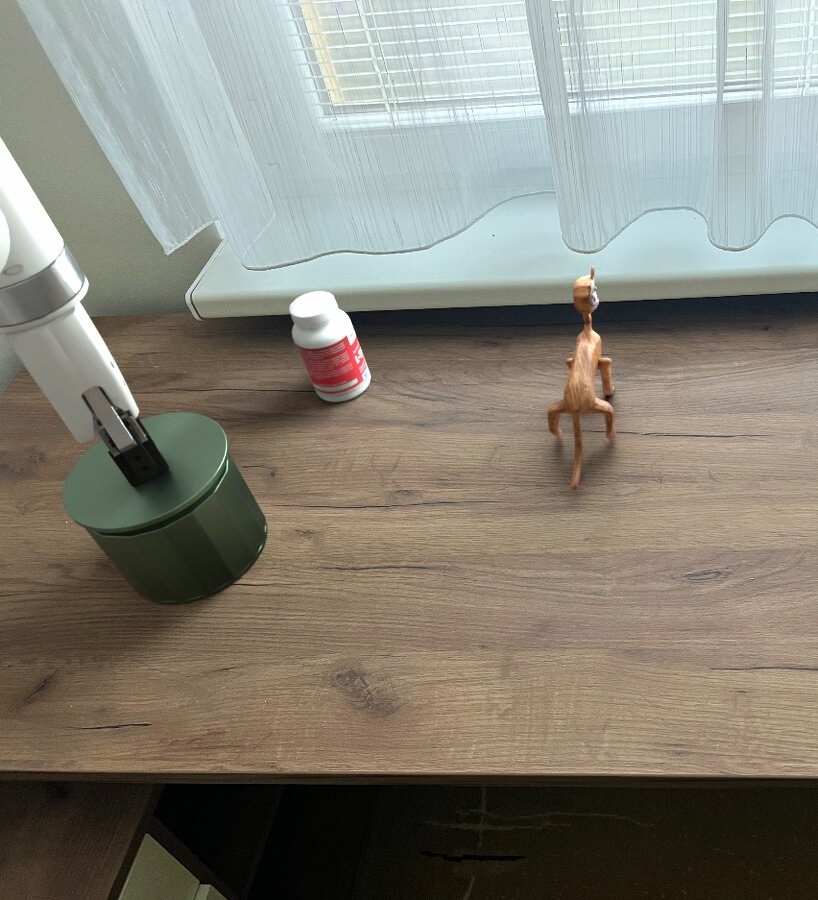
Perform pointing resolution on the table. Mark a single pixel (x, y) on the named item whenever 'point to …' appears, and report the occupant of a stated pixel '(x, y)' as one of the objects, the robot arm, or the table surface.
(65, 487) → the tin lid
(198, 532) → the tin
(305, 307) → the pill bottle
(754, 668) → the table surface
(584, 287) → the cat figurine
